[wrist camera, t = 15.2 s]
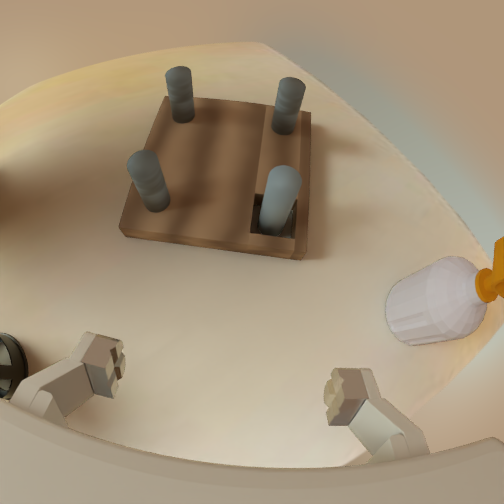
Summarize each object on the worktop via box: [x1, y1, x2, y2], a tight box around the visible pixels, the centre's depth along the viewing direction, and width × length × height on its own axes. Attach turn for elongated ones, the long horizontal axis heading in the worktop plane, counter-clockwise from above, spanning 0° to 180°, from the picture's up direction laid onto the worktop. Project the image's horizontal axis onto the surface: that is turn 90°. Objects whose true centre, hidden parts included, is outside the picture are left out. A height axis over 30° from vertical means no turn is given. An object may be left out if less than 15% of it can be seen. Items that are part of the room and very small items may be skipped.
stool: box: [119, 66, 311, 260], centre depth 36 cm, size 22×22×11 cm
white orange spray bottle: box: [385, 237, 504, 345], centre depth 25 cm, size 9×9×25 cm
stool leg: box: [258, 165, 302, 236], centre depth 34 cm, size 3×3×11 cm
